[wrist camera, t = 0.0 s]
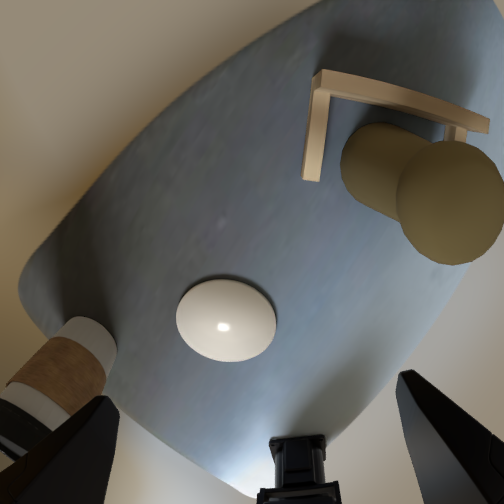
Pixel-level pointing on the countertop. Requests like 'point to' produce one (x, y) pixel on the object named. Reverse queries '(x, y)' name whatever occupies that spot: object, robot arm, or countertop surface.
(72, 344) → the coffee cup
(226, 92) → the countertop surface
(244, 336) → the saucer
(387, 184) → the cork
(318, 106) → the holder
